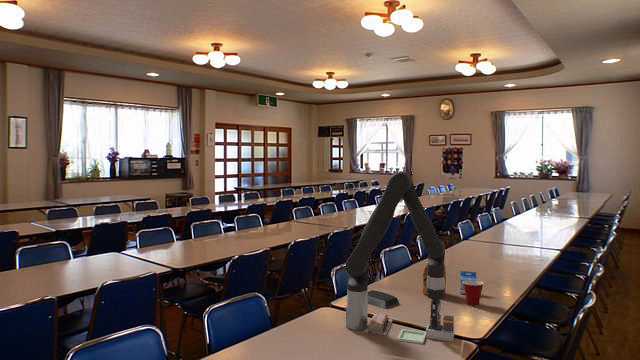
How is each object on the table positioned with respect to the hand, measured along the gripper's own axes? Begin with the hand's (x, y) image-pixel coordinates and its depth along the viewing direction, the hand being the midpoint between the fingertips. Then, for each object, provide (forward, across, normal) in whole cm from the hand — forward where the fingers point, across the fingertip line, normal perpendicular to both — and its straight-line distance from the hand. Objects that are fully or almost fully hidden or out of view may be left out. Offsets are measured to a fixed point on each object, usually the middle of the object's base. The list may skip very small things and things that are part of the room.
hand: (435, 323), depth 189 cm
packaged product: (+6, -2, -25) cm, 26 cm away
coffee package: (+6, -60, -8) cm, 61 cm away
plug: (+5, 0, 0) cm, 5 cm away
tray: (+6, +6, -9) cm, 12 cm away
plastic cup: (+6, -50, +14) cm, 52 cm away
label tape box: (+6, -68, +10) cm, 69 cm away
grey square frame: (+6, 0, +2) cm, 6 cm away
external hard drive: (+6, -37, -34) cm, 51 cm away
